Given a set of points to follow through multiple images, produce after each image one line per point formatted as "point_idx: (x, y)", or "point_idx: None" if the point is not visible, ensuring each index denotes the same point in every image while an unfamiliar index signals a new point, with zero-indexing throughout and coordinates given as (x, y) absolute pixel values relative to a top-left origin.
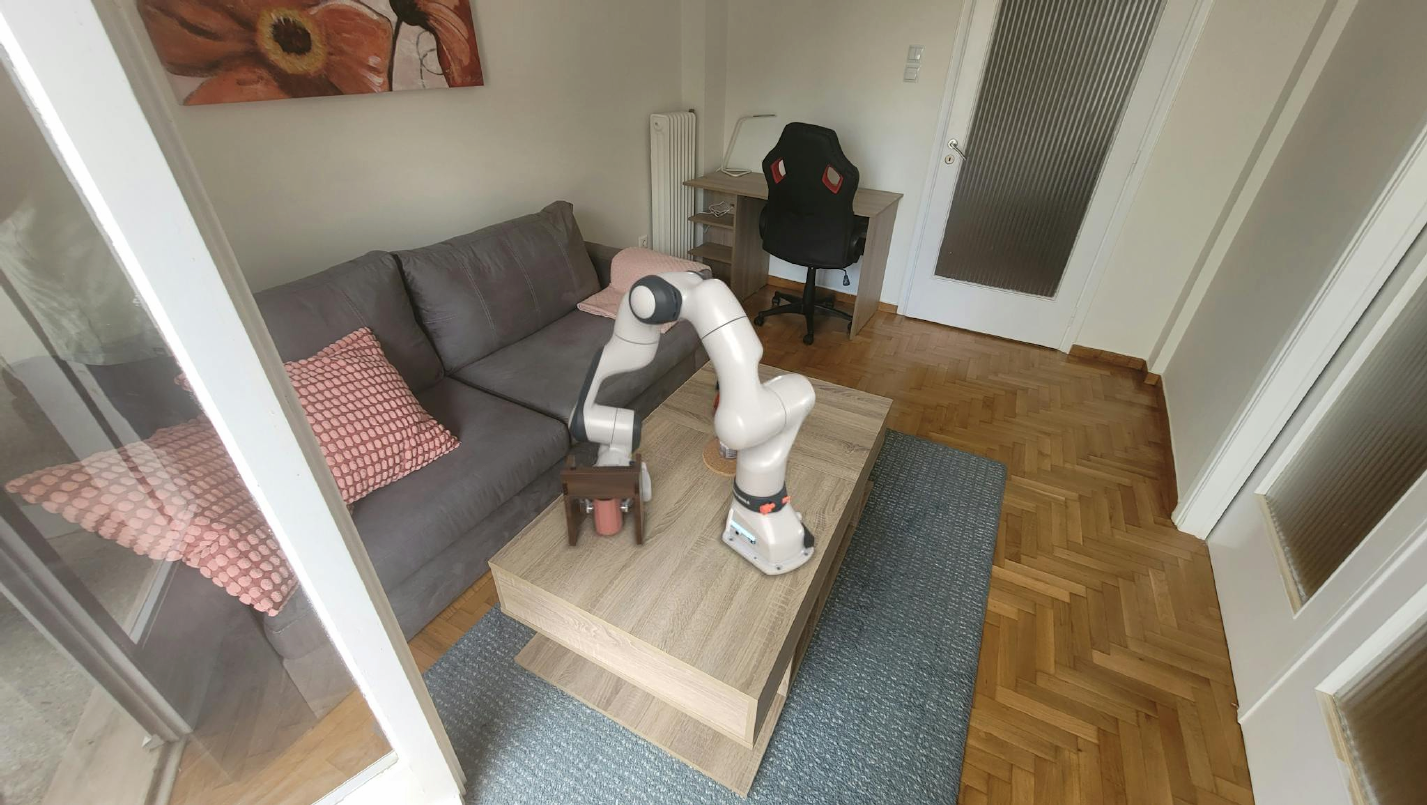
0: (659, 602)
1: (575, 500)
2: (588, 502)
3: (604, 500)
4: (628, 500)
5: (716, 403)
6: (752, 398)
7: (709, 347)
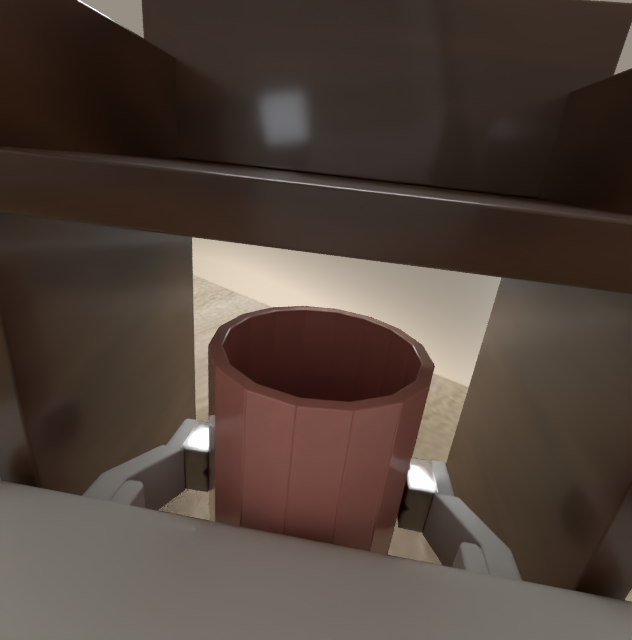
0: (212, 323)
1: (529, 412)
2: (445, 497)
3: (332, 311)
4: (154, 453)
5: None
6: None
7: None
